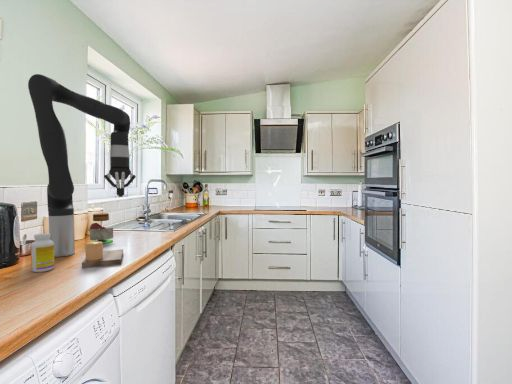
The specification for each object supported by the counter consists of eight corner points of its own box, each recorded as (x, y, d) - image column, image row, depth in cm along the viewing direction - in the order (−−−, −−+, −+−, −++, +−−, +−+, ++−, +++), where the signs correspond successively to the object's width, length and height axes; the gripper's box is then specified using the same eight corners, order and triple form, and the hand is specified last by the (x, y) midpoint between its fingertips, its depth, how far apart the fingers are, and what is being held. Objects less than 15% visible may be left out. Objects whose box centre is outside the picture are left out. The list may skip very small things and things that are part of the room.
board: (81, 268, 108) (81, 262, 108) (89, 256, 124) (89, 252, 124) (121, 264, 112) (121, 259, 112) (123, 253, 129) (123, 249, 129)
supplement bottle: (59, 268, 108) (58, 233, 107) (40, 273, 102) (39, 236, 101) (45, 266, 110) (45, 232, 110) (27, 271, 104) (26, 235, 103)
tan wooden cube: (84, 261, 110) (84, 245, 110) (87, 257, 115) (87, 242, 115) (101, 259, 112) (101, 243, 112) (103, 256, 117) (103, 241, 117)
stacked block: (84, 242, 154) (83, 214, 153) (109, 239, 162) (109, 212, 162) (90, 246, 145) (89, 215, 145) (117, 242, 154) (116, 213, 153)
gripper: (101, 155, 121) (102, 197, 121) (136, 156, 126) (137, 196, 126) (103, 156, 128) (104, 196, 128) (136, 157, 133) (137, 196, 133)
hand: (120, 196), depth 127 cm, fingers closed
